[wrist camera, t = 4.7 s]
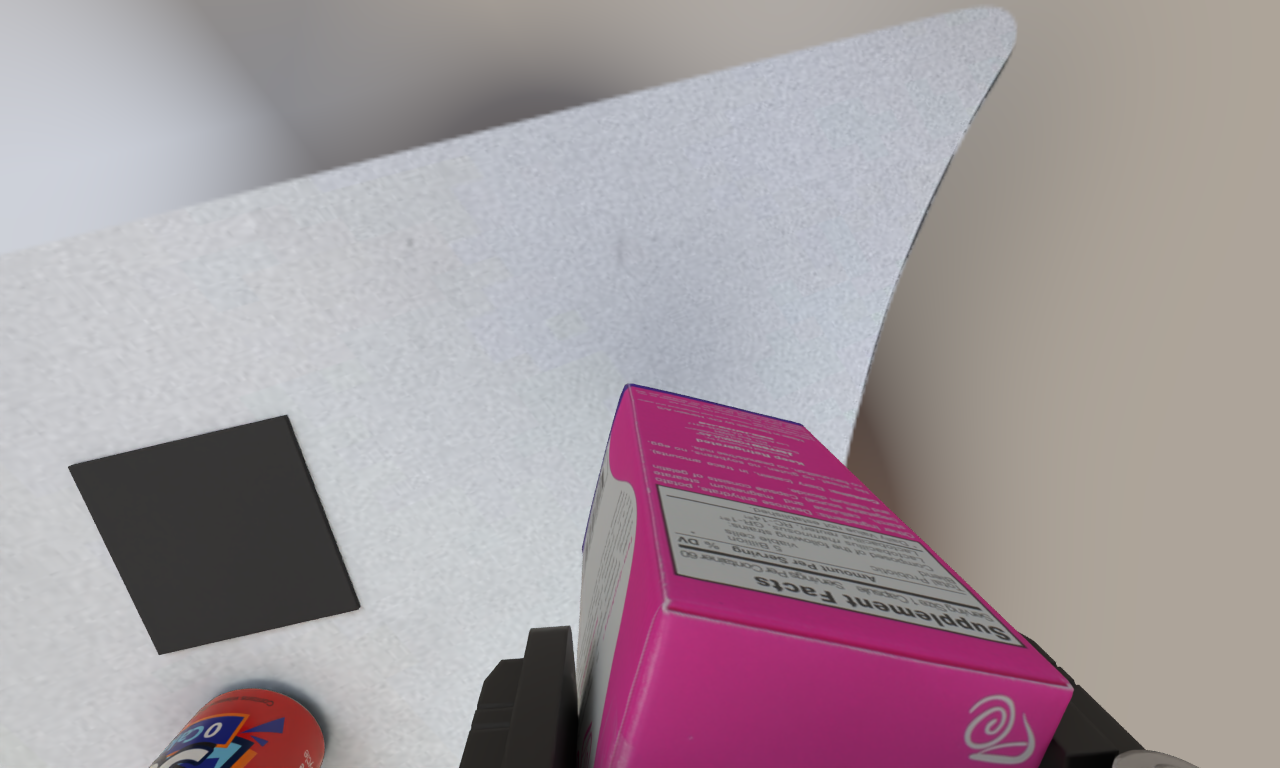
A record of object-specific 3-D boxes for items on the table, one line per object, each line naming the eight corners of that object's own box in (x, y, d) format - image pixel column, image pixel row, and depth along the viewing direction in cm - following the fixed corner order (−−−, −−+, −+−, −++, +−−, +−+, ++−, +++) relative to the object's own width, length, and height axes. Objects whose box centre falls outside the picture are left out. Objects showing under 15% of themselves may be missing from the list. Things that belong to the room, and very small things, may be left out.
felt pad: (72, 464, 33) (67, 466, 33) (286, 414, 33) (283, 416, 33) (162, 652, 36) (158, 655, 36) (360, 606, 36) (358, 609, 36)
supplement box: (757, 586, 20) (932, 1033, 9) (579, 548, 19) (526, 973, 8) (812, 421, 19) (1100, 699, 8) (623, 375, 18) (632, 602, 7)
